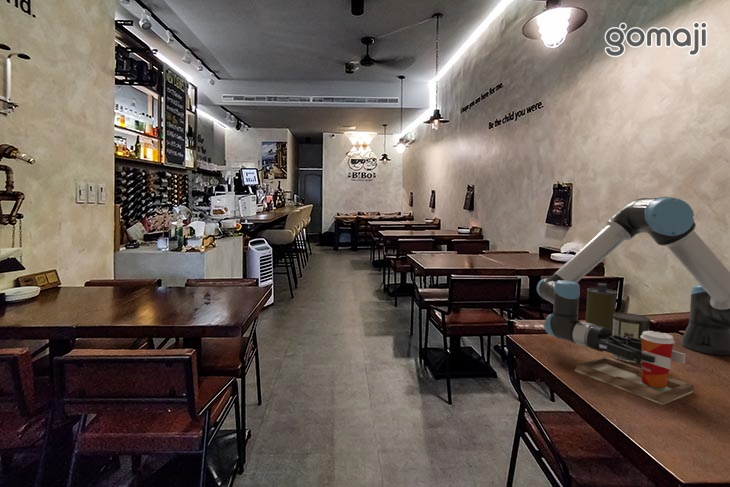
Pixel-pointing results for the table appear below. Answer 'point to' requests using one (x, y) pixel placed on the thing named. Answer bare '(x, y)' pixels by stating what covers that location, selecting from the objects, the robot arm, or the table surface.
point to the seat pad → (657, 388)
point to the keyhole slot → (631, 379)
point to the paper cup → (659, 346)
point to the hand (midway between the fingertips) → (677, 361)
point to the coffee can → (629, 328)
